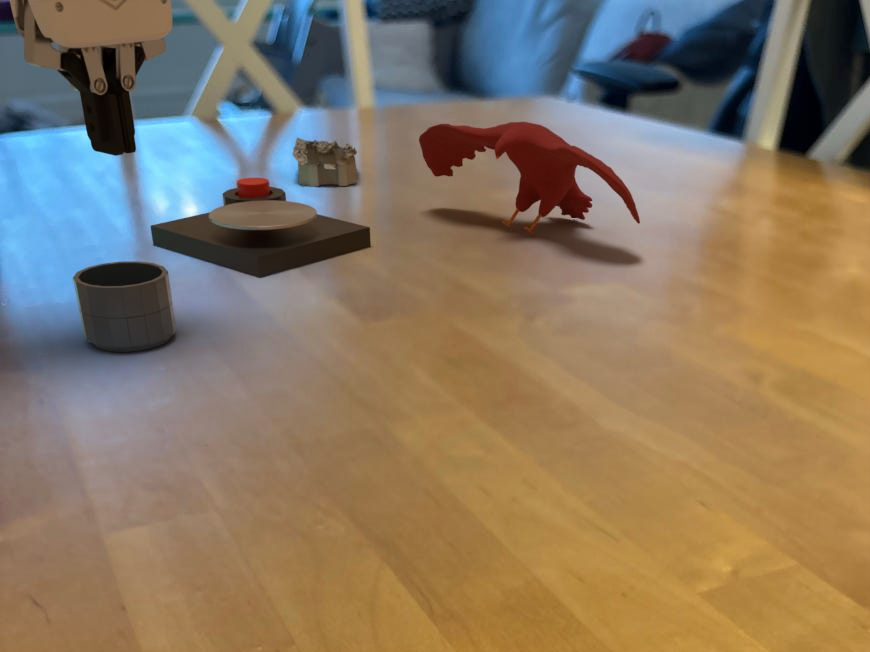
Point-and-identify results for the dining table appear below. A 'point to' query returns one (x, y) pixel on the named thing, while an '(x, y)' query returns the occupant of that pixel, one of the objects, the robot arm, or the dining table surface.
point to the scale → (260, 240)
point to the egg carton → (325, 163)
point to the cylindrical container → (125, 305)
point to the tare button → (253, 187)
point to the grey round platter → (262, 215)
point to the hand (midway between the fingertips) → (114, 151)
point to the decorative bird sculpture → (524, 164)
